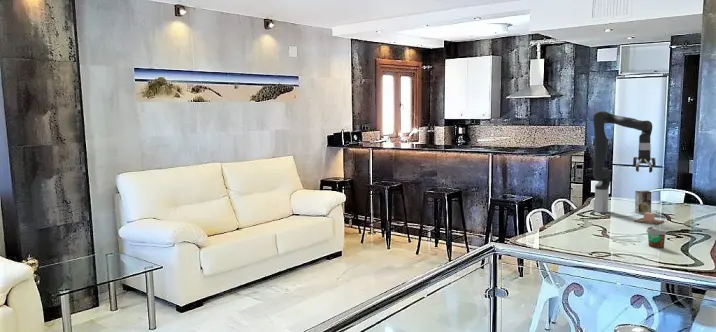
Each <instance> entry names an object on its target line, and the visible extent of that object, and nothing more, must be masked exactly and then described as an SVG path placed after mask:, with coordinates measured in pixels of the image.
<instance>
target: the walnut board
mask: <svg viewBox="0 0 716 332" xmlns="http://www.w3.org/2000/svg"><path fill="white" fill-rule="evenodd" d="M634 222H635V223H640V224H647V225H648V224H649V225H653V226H654V225H655V226H657V225H660V224H663V223H665V220H663V219H655V220H654V221H652V222H651V221H644V217H641V218H638V219H635V220H634Z"/></svg>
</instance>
